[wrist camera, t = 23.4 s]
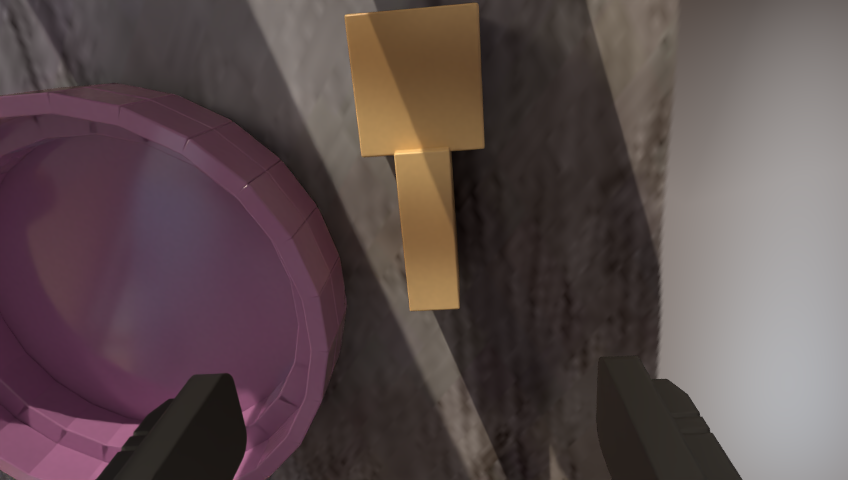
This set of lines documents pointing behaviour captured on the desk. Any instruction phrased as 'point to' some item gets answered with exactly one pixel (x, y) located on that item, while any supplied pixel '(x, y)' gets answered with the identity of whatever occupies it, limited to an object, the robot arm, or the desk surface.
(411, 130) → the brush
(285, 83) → the desk surface
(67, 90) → the bowl
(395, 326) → the desk surface
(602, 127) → the desk surface
